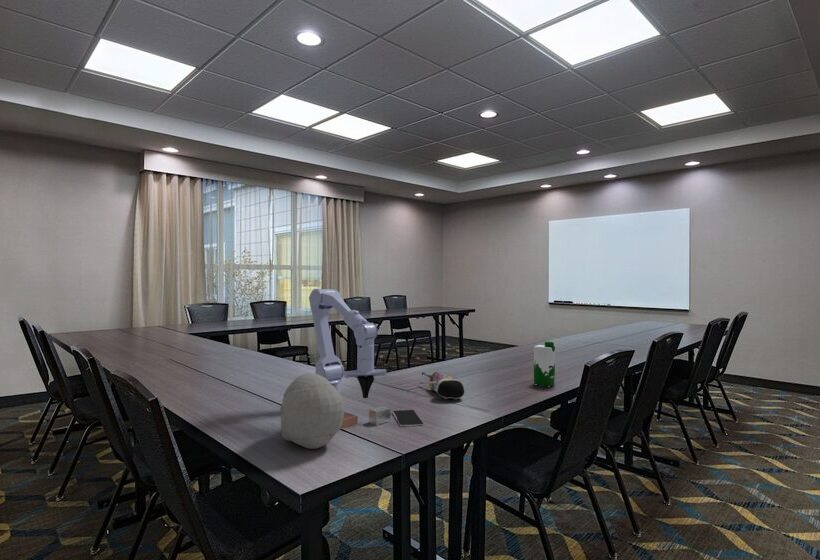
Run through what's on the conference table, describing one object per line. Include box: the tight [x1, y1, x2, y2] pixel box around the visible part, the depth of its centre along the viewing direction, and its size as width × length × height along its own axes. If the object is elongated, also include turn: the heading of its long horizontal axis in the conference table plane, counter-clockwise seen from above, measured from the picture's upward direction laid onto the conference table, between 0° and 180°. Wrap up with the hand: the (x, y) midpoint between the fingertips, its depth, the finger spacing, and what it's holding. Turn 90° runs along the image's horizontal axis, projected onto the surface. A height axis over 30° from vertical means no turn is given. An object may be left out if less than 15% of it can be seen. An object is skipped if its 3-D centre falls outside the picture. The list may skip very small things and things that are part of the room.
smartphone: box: [391, 409, 424, 428], centre depth 149 cm, size 8×1×15 cm
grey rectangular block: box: [368, 405, 391, 426], centre depth 146 cm, size 4×6×4 cm, turn 133°
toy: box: [419, 371, 471, 401], centre depth 185 cm, size 23×9×30 cm
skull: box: [279, 372, 345, 450], centre depth 129 cm, size 17×27×20 cm, turn 28°
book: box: [340, 411, 359, 430], centre depth 145 cm, size 14×8×3 cm, turn 49°
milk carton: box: [533, 341, 557, 387], centre depth 201 cm, size 9×9×20 cm
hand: (365, 397), depth 150 cm, fingers closed
